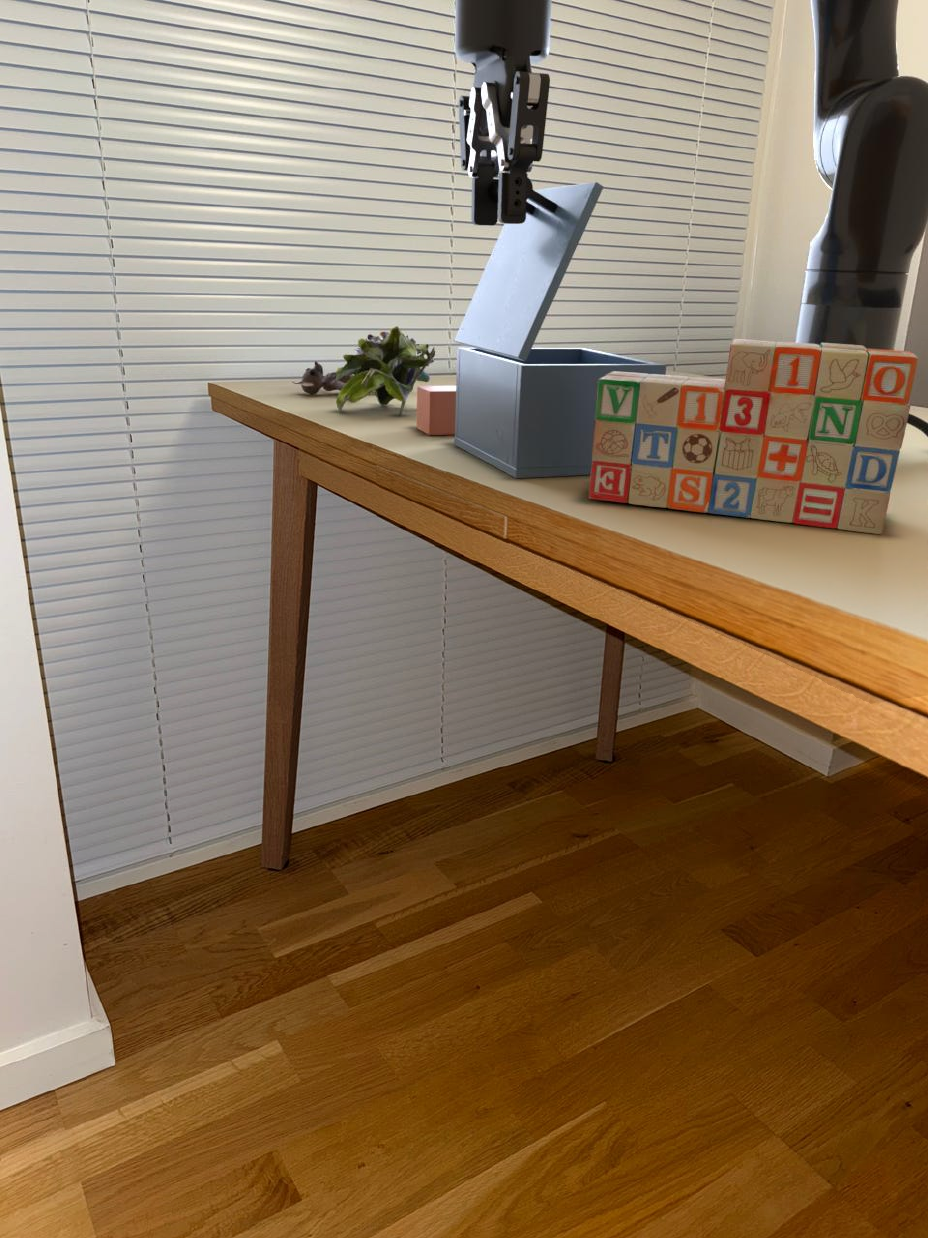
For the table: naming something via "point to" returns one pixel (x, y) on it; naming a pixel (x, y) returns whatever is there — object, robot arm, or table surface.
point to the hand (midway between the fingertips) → (497, 223)
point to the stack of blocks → (760, 435)
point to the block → (436, 409)
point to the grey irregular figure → (321, 380)
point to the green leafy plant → (384, 368)
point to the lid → (527, 269)
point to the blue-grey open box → (534, 407)
